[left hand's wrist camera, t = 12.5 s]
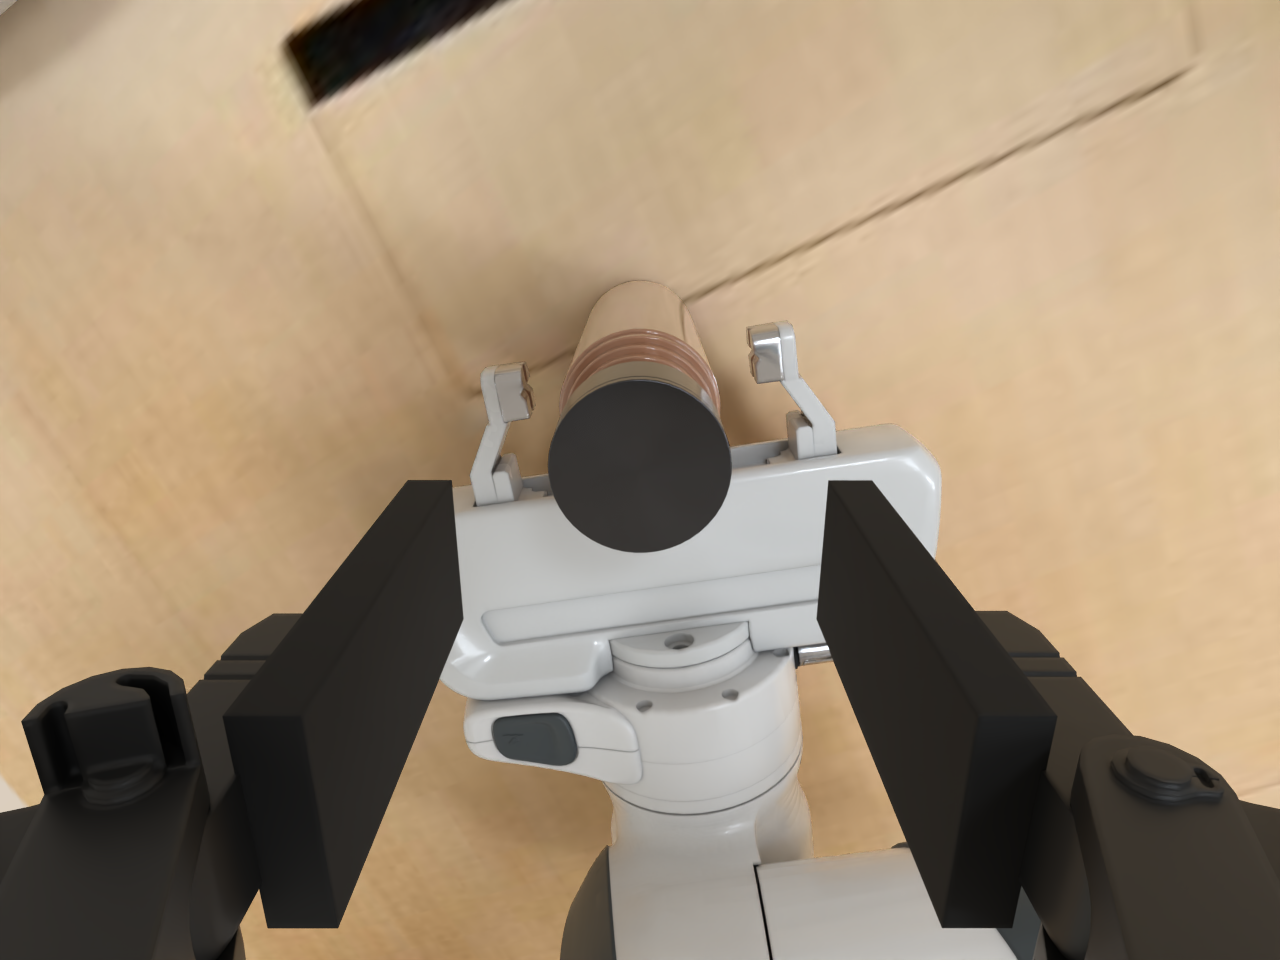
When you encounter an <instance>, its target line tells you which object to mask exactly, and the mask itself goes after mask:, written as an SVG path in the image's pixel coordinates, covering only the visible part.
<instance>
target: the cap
mask: <svg viewBox="0 0 1280 960" xmlns="http://www.w3.org/2000/svg"><path fill="white" fill-rule="evenodd" d="M731 476H732V457H731V450H730V446H729V442H728V439H727V436H726V433H725V430H724V427H723V424H722V421H721V418H720V416H719V413H718V411H717V408H716V406H715V405H714V403H713V401H712V399H711V398H710V396H709V395H708V394H707V393H706V391H705V390H704V389H703V388H702V387H701V386H700V385H699V384H698V383H697V382H696V381H695V380H693V379H692V378H691V377H689V376H688V375H686V374H685V373H683V372H681V371H679V370H678V369H675V368H673V367H670V366H667V365H664V364H660V363H656V362H647V361H632V362H625V363H620V364H616V365H613V366H610V367H607V368H605V369H603V370H600V371H599V372H597V373H595V374H594V375H592V376H590V377H589V378H588V379H587V380H585V381H584V382H583V383H582V384H581V385H580V386H579V387H578V388H577V389H576V390H575V391H574V392H573V394H572V395H571V396H570V398H569V399H568V401H567V403H566V405H565V406H564V408H563V411H562V413H561V416H560V418H559V421H558V424H557V427H556V430H555V433H554V436H553V439H552V442H551V446H550V450H549V456H548V477H549V482H550V487H551V490H552V493H553V496H554V498H555V500H556V502H557V504H558V506H559V508H560V510H561V511H562V513H563V514H564V516H565V517H566V518H567V519H568V521H569V522H570V523H571V524H572V525H573V526H574V527H575V528H576V529H577V530H578V531H580V532H581V533H582V534H583V535H585V536H586V537H588V538H589V539H591V540H593V541H595V542H597V543H599V544H600V545H603V546H606V547H608V548H611V549H614V550H619V551H623V552H632V553H649V552H656V551H661V550H665V549H669V548H672V547H674V546H677V545H680V544H682V543H683V542H685V541H687V540H689V539H691V538H692V537H694V536H695V535H696V534H698V533H699V532H701V531H702V530H703V529H704V528H705V527H706V526H707V525H708V524H709V523H710V522H711V521H712V519H713V518H714V517H715V516H716V514H717V513H718V511H719V510H720V508H721V507H722V504H723V502H724V500H725V498H726V496H727V493H728V490H729V486H730V482H731Z"/></svg>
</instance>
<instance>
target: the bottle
mask: <svg viewBox="0 0 1280 960" xmlns="http://www.w3.org/2000/svg"><path fill="white" fill-rule="evenodd" d="M632 361H647V362H656V363H660V364H664V365H667V366H670V367H673V368H675V369H678V370H679V371H681V372H683V373H685V374H686V375H688V376H689V377H691V378H692V379H693V380H695V381H696V382H697V383H698V384H699V385H700V386H701V387H702V388H703V389H704V390H705V391H706V393H707V394H708V395H709V396H710V398H711V399H712V401H713V403H714V405H715V406H716V408H717V411H718V413H719V416H720V395H719V390H718V386H717V382H716V380H715V377H714V374H713V372H712V369H711V367H710V364H709V362H708V359H707V356H706V354H705V351H704V349H703V346H702V344H701V341H700V338H699V336H698V333H697V331H696V328H695V325H694V323H693V320H692V318H691V315H690V313H689V311H688V309H687V307H686V305H685V304H684V303H683V301H682V300H681V299H680V298H679V297H678V296H677V295H676V294H675V293H674V292H673V291H671V290H670V289H668V288H666V287H665V286H663V285H660V284H658V283H654V282H650V281H630V282H626V283H622V284H620V285H618V286H615V287H614V288H612V289H610V290H609V291H607V292H606V293H605V294H604V295H603V296H602V297H601V298H600V299H599V300H598V301H597V303H596V304H595V305H594V307H593V309H592V311H591V313H590V315H589V318H588V320H587V323H586V325H585V328H584V331H583V333H582V336H581V338H580V341H579V344H578V346H577V349H576V351H575V354H574V356H573V359H572V362H571V364H570V367H569V369H568V372H567V374H566V377H565V380H564V382H563V385H562V390H561V394H560V405H559V406H560V416H561V413H562V411H563V408H564V406H565V405H566V403H567V401H568V399H569V398H570V396H571V395H572V394H573V392H574V391H575V390H576V389H577V388H578V387H579V386H580V385H581V384H582V383H583V382H584V381H585V380H587V379H588V378H589V377H590V376H592V375H594V374H595V373H597V372H599V371H600V370H603V369H605V368H607V367H610V366H613V365H616V364H620V363H625V362H632Z"/></svg>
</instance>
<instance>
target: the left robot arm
mask: <svg viewBox="0 0 1280 960" xmlns="http://www.w3.org/2000/svg"><path fill="white" fill-rule="evenodd" d="M463 619H464V617H463V606H462V594H461V582H460V571H459V559H458V548H457V536H456V524H455V513H454V501H453V490H452V480H408V481H407V482H406V483H405V485H404V486H403V487H402V488H401V490H400V491H399V492H398V493H397V495H396V496H395V497H394V499H393V500H392V501H391V502H390V504H389V505H388V506H387V507H386V509H385V510H384V511H383V513H382V514H381V515H380V516H379V518H378V519H377V520H376V521H375V523H374V524H373V525H372V527H371V528H370V529H369V530H368V532H367V533H366V534H365V535H364V537H363V538H362V539H361V540H360V542H359V543H358V544H357V546H356V547H355V548H354V549H353V551H352V552H351V553H350V554H349V556H348V557H347V558H346V560H345V561H344V562H343V563H342V565H341V566H340V567H339V568H338V570H337V571H336V572H335V574H334V575H333V576H332V577H331V579H330V580H329V581H328V582H327V584H326V585H325V586H324V588H323V589H322V590H321V591H320V593H319V594H318V595H317V596H316V598H315V599H314V600H313V602H312V603H311V604H310V605H309V607H308V608H307V609H306V610H305V612H304V613H303V614H272V615H270V616H269V617H267V618H266V619H264V620H262V621H261V622H259V623H257V624H256V625H254V626H252V627H251V628H249V629H247V630H246V631H244V632H242V633H241V634H240V635H239V636H238V637H237V639H236V640H235V641H234V642H233V643H232V644H231V645H230V646H229V648H228V649H227V650H226V651H225V652H224V653H223V654H222V655H221V660H217V661H216V662H215V663H214V664H213V666H212V667H211V668H210V669H209V670H208V671H207V672H206V673H205V675H204V680H199V681H198V682H197V684H196V685H195V686H194V687H193V688H192V689H191V690H190V691H189V693H188V694H186V690H185V686H184V681H183V679H182V678H180V677H179V676H177V675H176V674H175V673H173V672H172V671H170V670H164V669H158V668H153V667H143V668H129V669H120V670H116V671H112V672H108V673H104V674H100V675H96V676H92V677H89V678H87V679H84V680H82V681H79V682H77V683H75V684H72V685H70V686H67V687H65V688H62V689H61V690H59V691H58V692H56V693H54V694H53V695H51V696H50V697H48V698H46V699H45V700H43V701H42V702H40V703H38V704H37V705H36V706H35V707H34V708H33V709H32V710H31V711H30V713H29V714H28V715H27V716H26V717H25V718H24V719H23V720H22V721H21V722H22V725H23V729H24V732H25V735H26V738H27V741H28V744H29V747H30V751H31V754H32V757H33V760H34V763H35V766H36V769H37V773H38V776H39V779H40V782H41V785H42V788H43V791H44V797H43V799H42V801H41V803H40V804H38V805H34V806H31V807H26V808H21V809H17V810H12V811H7V812H2V813H0V960H246V958H245V950H244V943H243V938H242V933H241V929H240V923H241V921H242V919H243V917H244V916H245V914H246V912H247V910H248V908H249V906H250V905H251V903H252V901H253V899H254V897H255V895H256V893H257V892H258V890H260V895H261V899H262V904H263V909H264V913H265V918H266V923H267V927H268V928H338V927H339V925H340V922H341V920H342V917H343V915H344V912H345V910H346V907H347V905H348V902H349V900H350V898H351V895H352V893H353V890H354V888H355V885H356V883H357V880H358V878H359V875H360V873H361V870H362V868H363V866H364V863H365V861H366V858H367V856H368V853H369V851H370V848H371V846H372V843H373V841H374V838H375V836H376V834H377V831H378V829H379V826H380V824H381V821H382V819H383V816H384V814H385V811H386V809H387V806H388V804H389V802H390V799H391V797H392V794H393V792H394V789H395V787H396V784H397V782H398V779H399V777H400V774H401V772H402V770H403V767H404V765H405V762H406V760H407V757H408V755H409V752H410V750H411V747H412V745H413V742H414V740H415V738H416V735H417V733H418V730H419V728H420V725H421V723H422V720H423V718H424V715H425V713H426V710H427V708H428V706H429V703H430V701H431V698H432V696H433V693H434V691H435V688H436V686H437V683H438V681H439V678H440V676H441V674H442V671H443V669H444V666H445V664H446V661H447V659H448V656H449V654H450V651H451V649H452V646H453V644H454V642H455V639H456V637H457V634H458V632H459V629H460V627H461V624H462V622H463ZM816 619H817V622H818V624H819V627H820V629H821V632H822V634H823V637H824V639H825V642H826V644H827V646H828V649H829V651H830V654H831V656H832V659H833V661H834V664H835V666H836V669H837V671H838V674H839V676H840V678H841V681H842V683H843V686H844V688H845V691H846V693H847V696H848V698H849V701H850V703H851V706H852V708H853V710H854V713H855V715H856V718H857V720H858V723H859V725H860V728H861V730H862V733H863V735H864V738H865V740H866V742H867V745H868V747H869V750H870V752H871V755H872V757H873V760H874V762H875V765H876V767H877V770H878V772H879V774H880V777H881V779H882V782H883V784H884V787H885V789H886V792H887V794H888V797H889V799H890V802H891V804H892V806H893V809H894V811H895V814H896V816H897V819H898V821H899V824H900V826H901V829H902V831H903V834H904V836H905V838H906V841H907V843H908V846H909V848H910V851H911V853H912V856H913V858H914V861H915V863H916V866H917V868H918V870H919V873H920V875H921V878H922V880H923V883H924V885H925V888H926V890H927V893H928V895H929V898H930V900H931V902H932V905H933V907H934V910H935V912H936V915H937V917H938V920H939V922H940V925H941V927H942V928H1012V927H1013V923H1014V918H1015V913H1016V909H1017V904H1018V899H1019V895H1020V890H1021V886H1022V887H1023V889H1024V891H1025V893H1026V895H1027V897H1028V898H1029V900H1030V902H1031V904H1032V906H1033V908H1034V909H1035V911H1036V913H1037V915H1038V917H1039V919H1040V920H1041V925H1040V929H1039V933H1038V938H1037V942H1036V946H1035V951H1034V955H1033V960H1280V809H1276V808H1272V807H1267V806H1262V805H1257V804H1253V803H1248V802H1245V801H1241V800H1239V799H1238V797H1237V795H1236V793H1235V792H1234V791H1233V789H1232V788H1231V787H1230V786H1229V784H1228V783H1227V782H1226V781H1225V779H1224V778H1223V777H1222V775H1220V774H1219V773H1218V772H1216V771H1215V770H1214V769H1212V768H1211V767H1210V766H1208V765H1207V764H1205V763H1204V762H1203V761H1201V760H1200V759H1199V758H1197V757H1195V756H1193V755H1191V754H1189V753H1187V752H1184V751H1182V750H1180V749H1178V748H1176V747H1174V746H1172V745H1170V744H1166V743H1163V742H1159V741H1156V740H1152V739H1149V738H1145V737H1141V736H1133V735H1132V733H1131V732H1130V731H1129V730H1128V729H1127V728H1126V727H1125V726H1124V724H1123V723H1122V722H1121V721H1120V720H1119V719H1118V718H1117V717H1116V716H1115V714H1114V713H1113V712H1112V711H1111V710H1110V709H1109V708H1108V707H1107V706H1106V704H1105V703H1104V702H1103V701H1102V700H1101V699H1100V698H1099V697H1098V695H1097V694H1096V693H1095V692H1094V691H1093V690H1092V689H1091V688H1090V687H1089V685H1088V684H1087V683H1086V682H1085V681H1084V680H1083V679H1082V678H1081V677H1077V675H1076V671H1075V670H1074V669H1073V668H1072V666H1071V665H1070V664H1069V663H1068V662H1067V661H1066V660H1065V659H1064V658H1060V656H1059V652H1058V651H1057V650H1056V649H1055V648H1054V646H1053V645H1052V644H1051V643H1050V642H1049V641H1048V640H1047V639H1046V637H1045V636H1044V635H1043V634H1042V633H1041V632H1040V631H1039V630H1038V629H1036V628H1034V627H1033V626H1031V625H1029V624H1028V623H1026V622H1024V621H1023V620H1021V619H1019V618H1018V617H1016V616H1014V615H1013V614H1011V613H1009V612H1008V611H975V610H974V609H973V608H972V607H971V605H970V604H969V603H968V602H967V600H966V599H965V598H964V596H963V595H962V594H961V593H960V591H959V590H958V589H957V588H956V586H955V585H954V584H953V582H952V581H951V580H950V579H949V577H948V576H947V575H946V574H945V572H944V571H943V570H942V568H941V567H940V566H939V565H938V563H937V562H936V561H935V560H934V558H933V557H932V556H931V554H930V553H929V552H928V551H927V549H926V548H925V547H924V546H923V544H922V543H921V542H920V541H919V539H918V538H917V537H916V535H915V534H914V533H913V532H912V530H911V529H910V528H909V527H908V525H907V524H906V523H905V521H904V520H903V519H902V518H901V516H900V515H899V514H898V513H897V511H896V510H895V509H894V507H893V506H892V505H891V504H890V502H889V501H888V500H887V499H886V497H885V496H884V495H883V493H882V492H881V491H880V490H879V488H878V487H877V486H876V485H875V483H874V482H873V481H872V480H828V490H827V501H826V513H825V524H824V536H823V548H822V559H821V571H820V582H819V594H818V606H817V617H816Z"/></svg>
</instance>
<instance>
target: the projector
mask: <svg viewBox="0 0 1280 960" xmlns="http://www.w3.org/2000/svg"><path fill="white" fill-rule="evenodd" d="M16 1H17V0H0V15H1V14H3V13H4V12H5V11H6V10H7V9H8V8H9V7H10V6H11V5H13V4H14V3H15V2H16Z"/></svg>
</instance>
